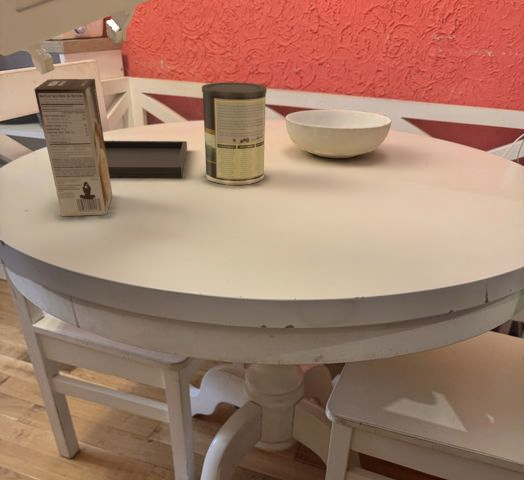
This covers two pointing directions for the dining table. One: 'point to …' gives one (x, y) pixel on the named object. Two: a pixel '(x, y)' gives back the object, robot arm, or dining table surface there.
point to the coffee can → (234, 132)
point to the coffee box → (75, 145)
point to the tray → (146, 159)
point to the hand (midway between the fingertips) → (81, 53)
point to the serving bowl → (337, 132)
